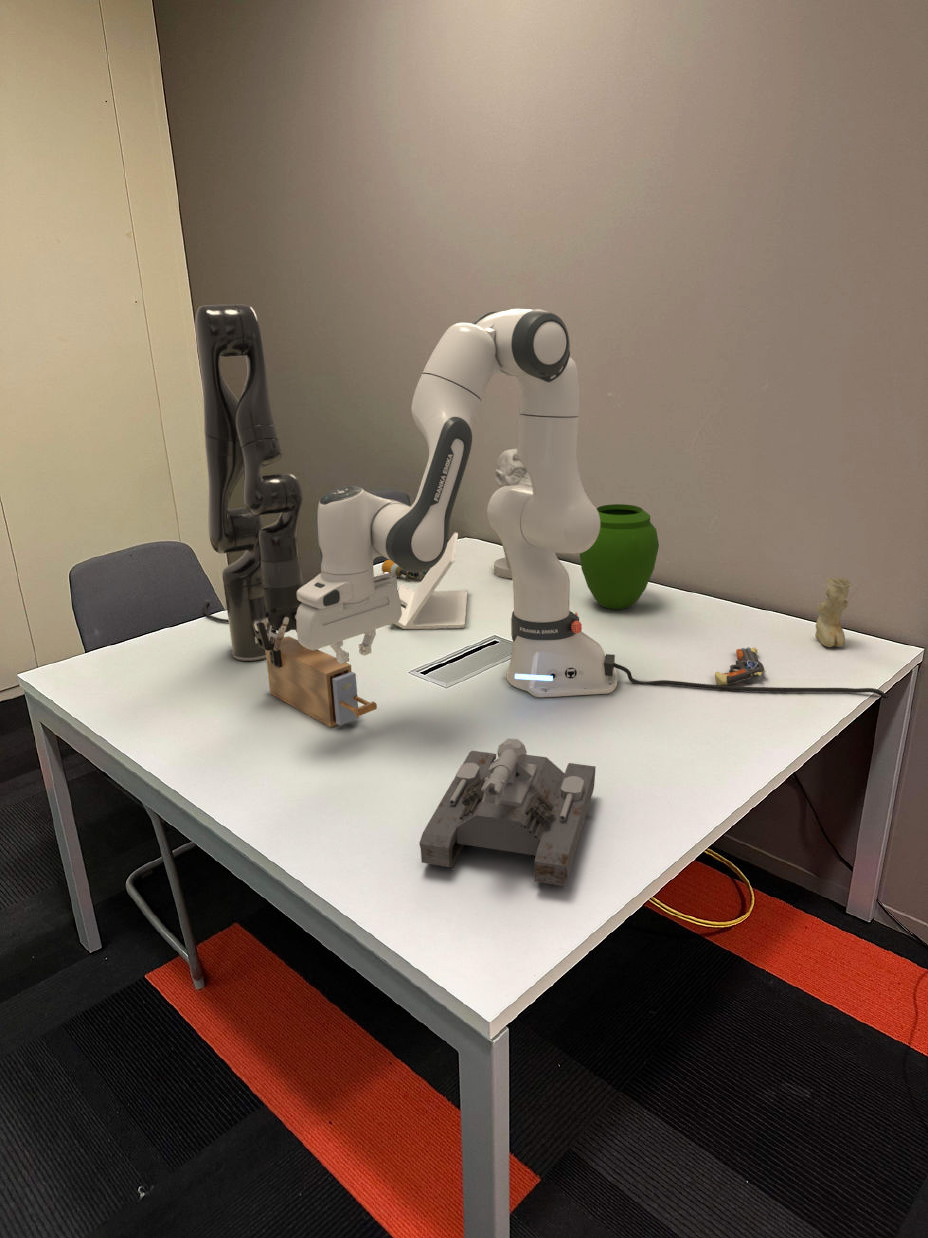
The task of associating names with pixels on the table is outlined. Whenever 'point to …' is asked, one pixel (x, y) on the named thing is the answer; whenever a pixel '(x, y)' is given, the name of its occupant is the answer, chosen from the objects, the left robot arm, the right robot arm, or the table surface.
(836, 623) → the sculpture
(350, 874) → the table surface
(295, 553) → the left robot arm
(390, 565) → the spray gun
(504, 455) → the bust sculpture
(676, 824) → the table surface
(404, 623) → the tablet stand
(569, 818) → the toy
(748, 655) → the toy gun
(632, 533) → the vase
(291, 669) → the cabinet
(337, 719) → the drawer
